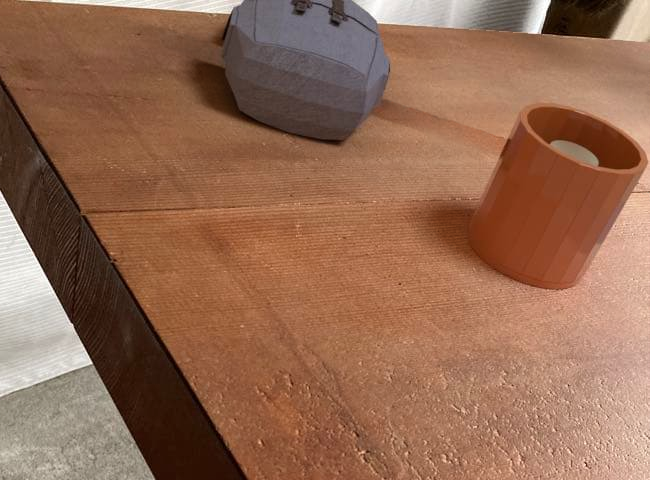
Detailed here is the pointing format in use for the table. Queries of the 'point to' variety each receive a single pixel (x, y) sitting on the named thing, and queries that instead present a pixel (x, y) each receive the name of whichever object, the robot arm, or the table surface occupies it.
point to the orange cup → (554, 196)
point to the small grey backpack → (305, 64)
